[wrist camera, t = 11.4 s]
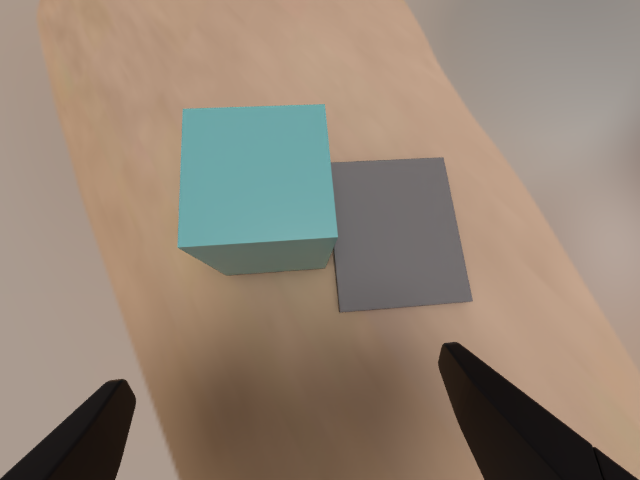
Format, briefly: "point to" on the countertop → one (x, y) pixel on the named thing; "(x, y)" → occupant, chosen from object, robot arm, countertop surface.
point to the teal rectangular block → (257, 188)
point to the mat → (396, 235)
